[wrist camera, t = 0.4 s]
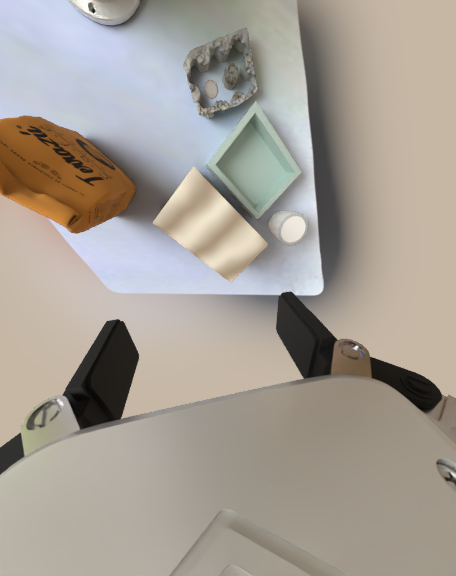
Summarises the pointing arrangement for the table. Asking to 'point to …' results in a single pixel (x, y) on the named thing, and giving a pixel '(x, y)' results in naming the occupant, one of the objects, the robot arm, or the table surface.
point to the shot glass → (288, 226)
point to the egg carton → (230, 76)
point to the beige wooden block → (210, 227)
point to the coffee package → (60, 174)
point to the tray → (254, 163)
